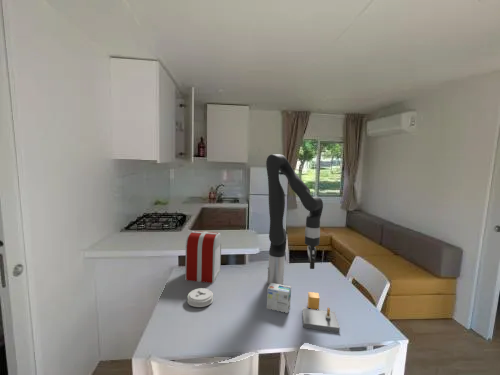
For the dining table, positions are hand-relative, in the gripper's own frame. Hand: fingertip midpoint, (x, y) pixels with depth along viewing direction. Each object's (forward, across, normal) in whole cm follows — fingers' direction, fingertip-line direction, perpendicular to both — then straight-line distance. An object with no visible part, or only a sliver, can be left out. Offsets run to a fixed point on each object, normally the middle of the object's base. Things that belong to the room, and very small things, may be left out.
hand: (311, 265), depth 137 cm
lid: (+17, +14, -55) cm, 60 cm away
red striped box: (+16, -14, -62) cm, 66 cm away
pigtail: (+16, +20, +6) cm, 27 cm away
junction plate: (+18, +20, +2) cm, 27 cm away
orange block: (+18, +8, +1) cm, 20 cm away
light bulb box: (+18, +12, -16) cm, 27 cm away
